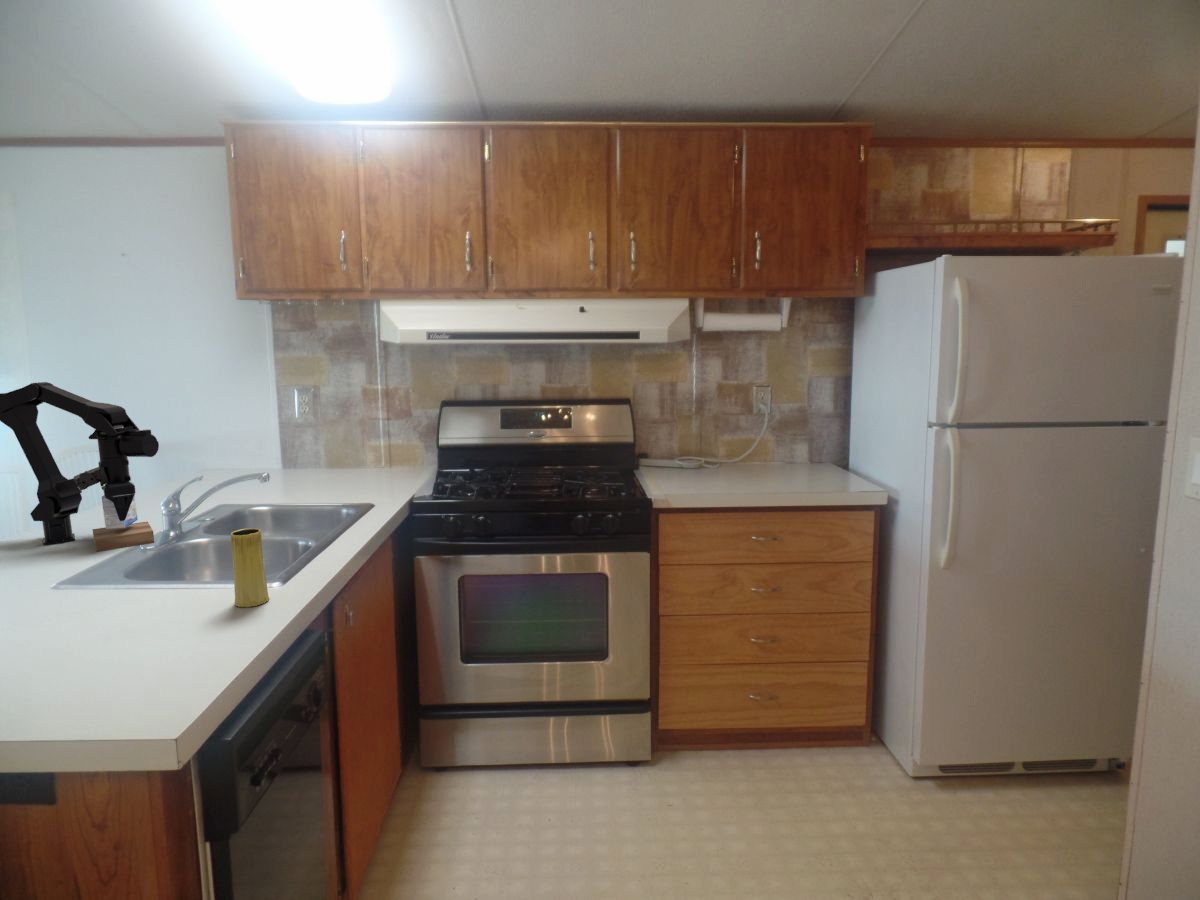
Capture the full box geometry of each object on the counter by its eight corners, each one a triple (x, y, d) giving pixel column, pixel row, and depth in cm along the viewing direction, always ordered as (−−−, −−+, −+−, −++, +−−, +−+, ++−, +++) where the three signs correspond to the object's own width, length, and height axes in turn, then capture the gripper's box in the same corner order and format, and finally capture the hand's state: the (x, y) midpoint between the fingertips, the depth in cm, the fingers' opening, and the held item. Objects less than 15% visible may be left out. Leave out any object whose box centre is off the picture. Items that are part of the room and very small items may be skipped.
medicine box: (125, 528, 176) (121, 494, 174) (105, 529, 175) (100, 495, 173) (138, 520, 183) (134, 487, 182) (118, 521, 182) (115, 488, 181)
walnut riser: (93, 540, 181) (92, 529, 180) (148, 532, 188) (147, 521, 187) (96, 551, 171) (95, 539, 171) (154, 542, 178) (153, 531, 178)
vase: (275, 596, 141) (269, 527, 138) (257, 608, 135) (251, 536, 132) (246, 595, 141) (240, 527, 139) (227, 607, 135) (220, 535, 133)
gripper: (72, 455, 178) (79, 514, 181) (75, 465, 164) (83, 530, 166) (124, 450, 185) (131, 508, 188) (132, 460, 171) (139, 522, 173)
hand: (120, 517), depth 178 cm, fingers closed on medicine box, 9 cm apart
